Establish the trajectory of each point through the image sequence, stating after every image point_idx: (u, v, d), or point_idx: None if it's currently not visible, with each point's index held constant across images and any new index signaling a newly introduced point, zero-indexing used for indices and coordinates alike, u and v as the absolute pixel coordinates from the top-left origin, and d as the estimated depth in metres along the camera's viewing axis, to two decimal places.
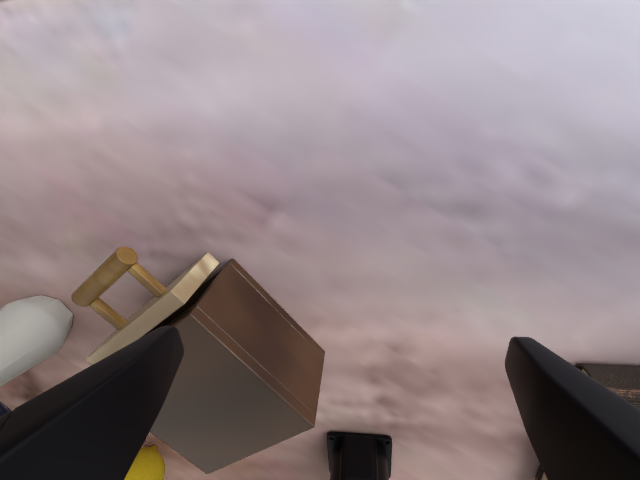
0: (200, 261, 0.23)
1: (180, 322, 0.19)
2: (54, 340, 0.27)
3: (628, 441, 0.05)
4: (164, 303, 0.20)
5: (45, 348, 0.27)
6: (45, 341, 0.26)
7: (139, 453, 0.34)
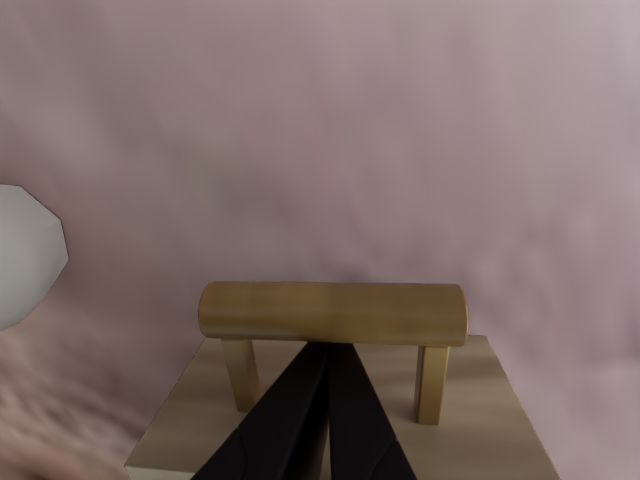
0: (501, 367, 0.10)
1: None
2: (13, 319, 0.11)
3: (337, 421, 0.05)
4: None
5: None
6: None
7: None
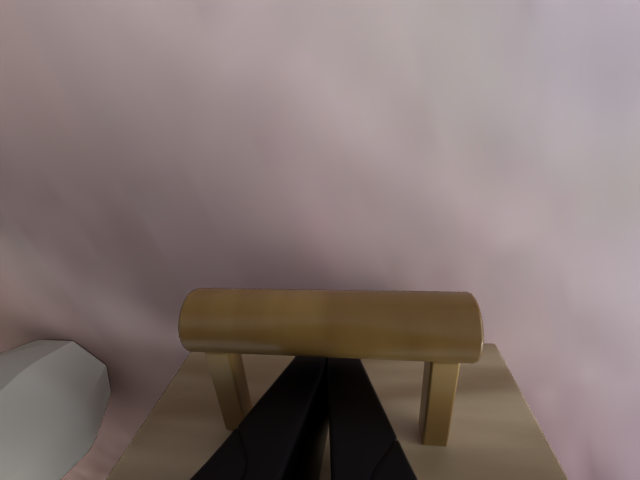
0: (512, 379, 0.09)
1: None
2: None
3: (337, 421, 0.05)
4: None
5: None
6: (62, 476, 0.12)
7: None
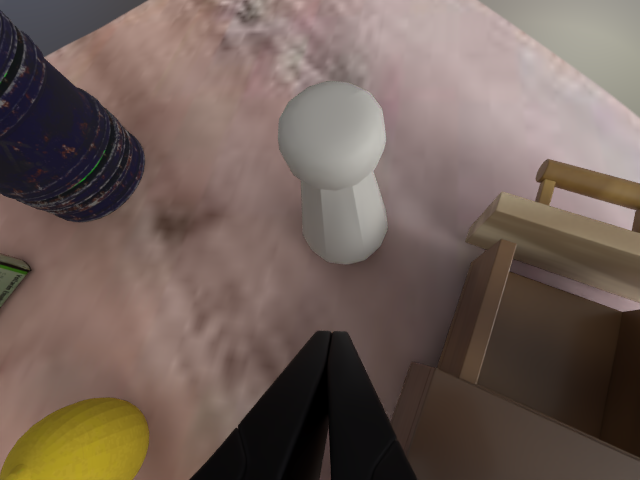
0: None
1: None
2: (357, 258, 0.20)
3: (337, 421, 0.05)
4: None
5: (352, 253, 0.19)
6: (364, 251, 0.19)
7: (147, 429, 0.19)
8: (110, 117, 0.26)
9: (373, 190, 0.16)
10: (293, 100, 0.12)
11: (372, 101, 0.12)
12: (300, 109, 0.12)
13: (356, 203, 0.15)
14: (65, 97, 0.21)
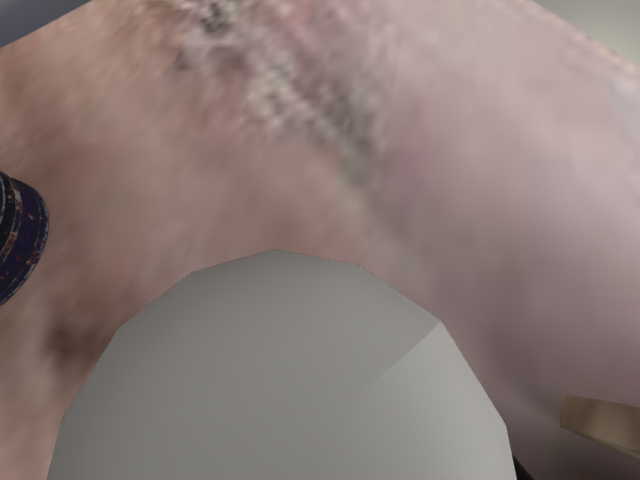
0: None
1: None
2: None
3: None
4: None
5: None
6: None
7: None
8: None
9: None
10: (109, 359, 0.03)
11: (469, 416, 0.02)
12: (112, 445, 0.02)
13: None
14: None
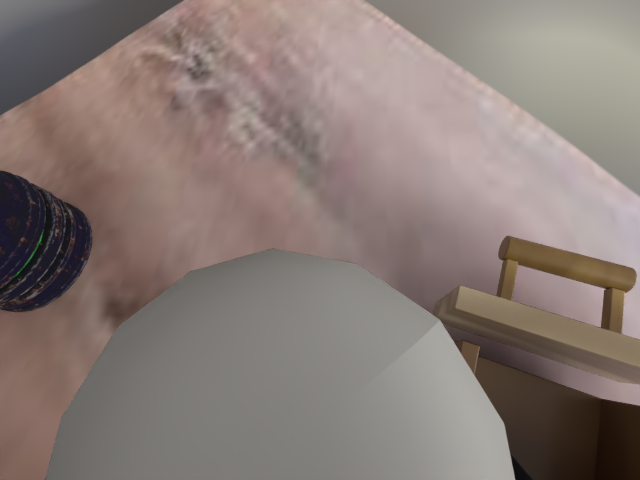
0: None
1: None
2: None
3: None
4: None
5: None
6: None
7: None
8: (47, 199, 0.24)
9: None
10: (108, 359, 0.03)
11: (467, 414, 0.02)
12: (110, 444, 0.02)
13: None
14: None
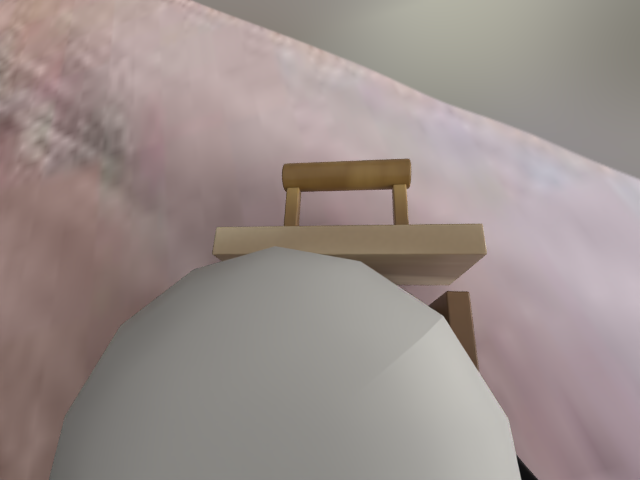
0: None
1: None
2: None
3: None
4: (452, 233, 0.12)
5: None
6: None
7: None
8: None
9: None
10: (111, 356, 0.03)
11: (472, 410, 0.02)
12: (115, 441, 0.02)
13: None
14: None
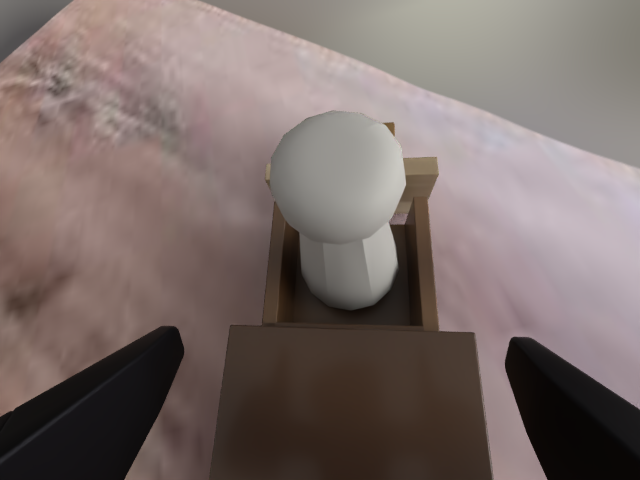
0: None
1: (452, 333, 0.14)
2: (364, 304, 0.17)
3: (628, 441, 0.05)
4: (418, 163, 0.19)
5: (358, 300, 0.17)
6: (372, 298, 0.17)
7: None
8: None
9: (386, 235, 0.13)
10: (289, 134, 0.10)
11: (389, 137, 0.09)
12: (298, 146, 0.09)
13: (366, 253, 0.12)
14: None
